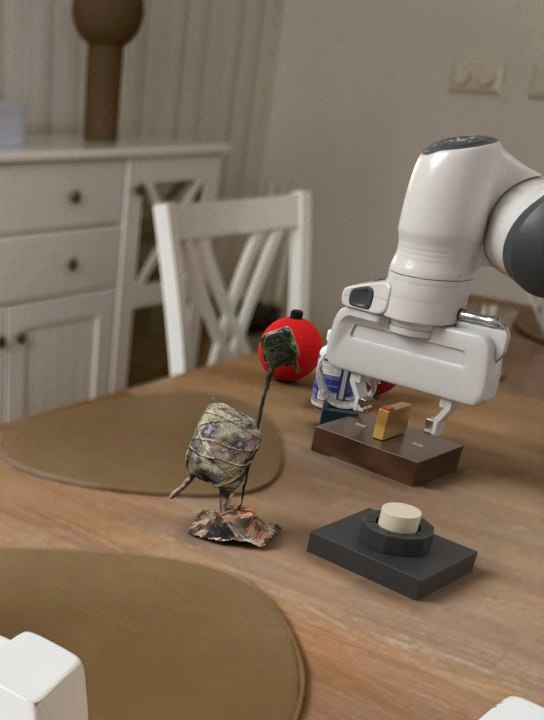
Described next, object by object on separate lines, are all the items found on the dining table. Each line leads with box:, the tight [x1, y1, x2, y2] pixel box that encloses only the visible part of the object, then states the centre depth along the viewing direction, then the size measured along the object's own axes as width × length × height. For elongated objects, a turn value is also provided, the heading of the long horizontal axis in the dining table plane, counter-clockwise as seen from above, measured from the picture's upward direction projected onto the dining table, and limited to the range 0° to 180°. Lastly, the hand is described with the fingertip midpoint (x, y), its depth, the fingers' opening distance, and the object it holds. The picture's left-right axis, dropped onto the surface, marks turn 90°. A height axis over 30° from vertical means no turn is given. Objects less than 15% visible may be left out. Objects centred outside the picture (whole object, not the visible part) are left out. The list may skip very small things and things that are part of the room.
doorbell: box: [306, 507, 479, 602], centre depth 92 cm, size 12×10×4 cm
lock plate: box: [310, 412, 464, 488], centre depth 117 cm, size 14×10×3 cm
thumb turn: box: [372, 401, 413, 440], centre depth 115 cm, size 5×1×4 cm, turn 131°
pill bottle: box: [310, 328, 355, 410], centre depth 132 cm, size 6×6×10 cm
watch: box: [315, 349, 381, 425], centre depth 123 cm, size 6×8×11 cm
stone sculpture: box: [168, 326, 301, 548], centre depth 92 cm, size 8×11×20 cm
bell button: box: [378, 501, 423, 534], centre depth 91 cm, size 4×4×2 cm
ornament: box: [258, 308, 323, 382], centre depth 141 cm, size 9×9×10 cm
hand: (395, 422), depth 115 cm, fingers open, 8 cm apart
